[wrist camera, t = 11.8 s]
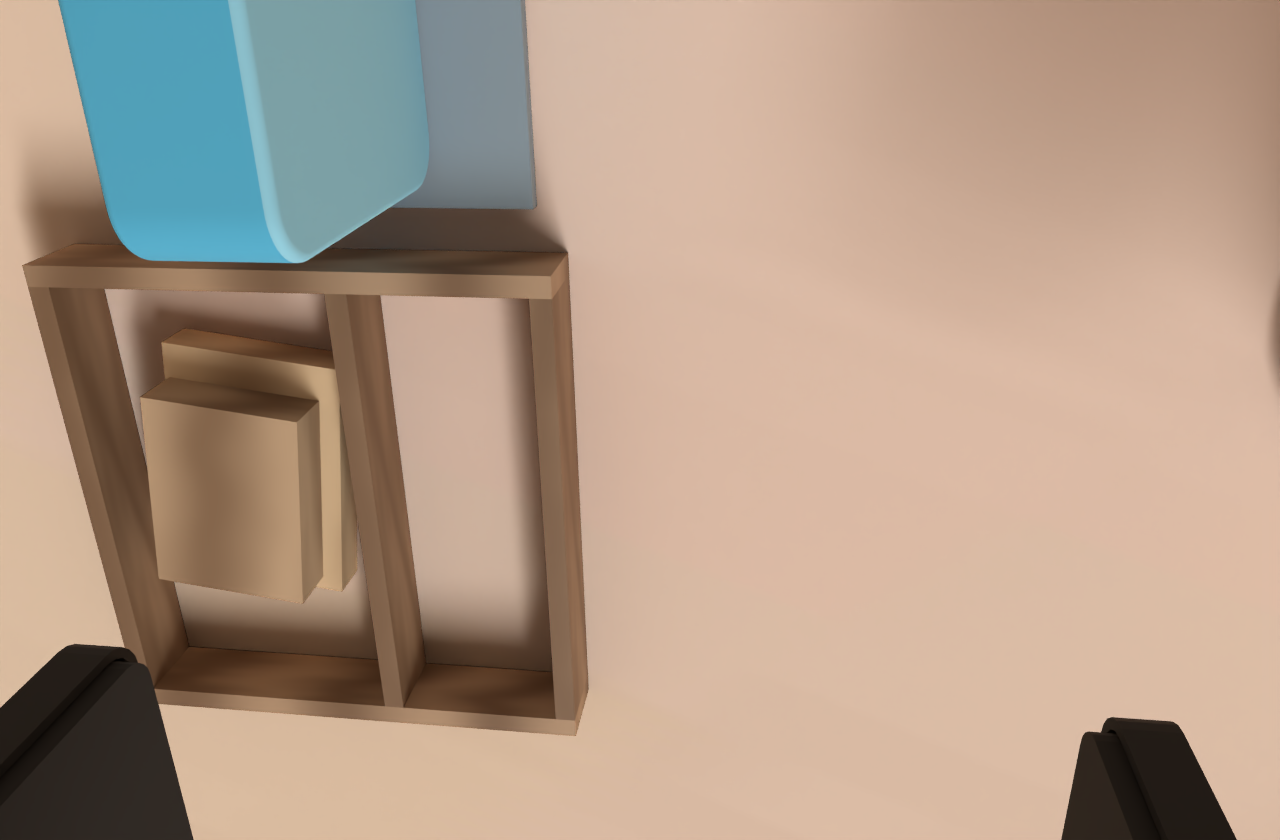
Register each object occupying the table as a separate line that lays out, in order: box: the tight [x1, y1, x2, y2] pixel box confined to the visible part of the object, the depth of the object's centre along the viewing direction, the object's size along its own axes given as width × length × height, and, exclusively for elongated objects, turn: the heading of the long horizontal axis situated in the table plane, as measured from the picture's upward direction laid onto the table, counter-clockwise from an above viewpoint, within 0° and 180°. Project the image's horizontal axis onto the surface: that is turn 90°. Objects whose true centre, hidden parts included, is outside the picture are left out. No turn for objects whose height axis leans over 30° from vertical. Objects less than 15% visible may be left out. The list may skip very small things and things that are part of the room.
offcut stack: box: [140, 328, 357, 604], centre depth 41 cm, size 7×10×4 cm
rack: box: [22, 244, 588, 736], centre depth 42 cm, size 19×20×3 cm
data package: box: [58, 0, 429, 263], centre depth 29 cm, size 12×4×12 cm, turn 1°
